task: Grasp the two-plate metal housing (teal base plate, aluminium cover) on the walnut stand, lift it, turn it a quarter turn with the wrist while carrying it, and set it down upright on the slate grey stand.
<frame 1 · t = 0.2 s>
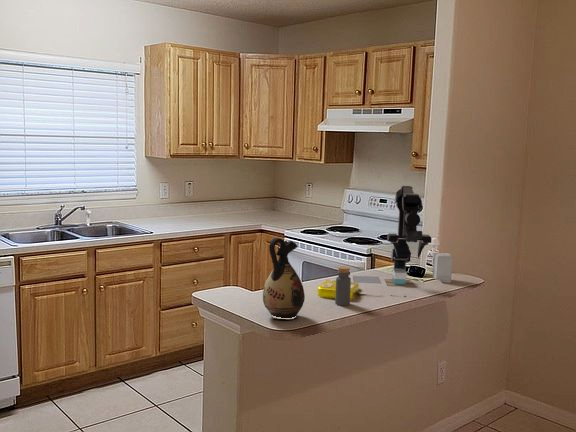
hand: (407, 257, 262), 14 cm above the countertop, tool pointing down, fingers open, 9 cm apart
bottle: (342, 304, 237), on the countertop
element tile: (338, 295, 251), on the countertop
supplement box: (441, 281, 279), on the countertop
ceramic jug: (281, 317, 218), on the countertop
walnut stand: (398, 286, 266), on the countertop
slate stand: (366, 282, 271), on the countertop
housing: (398, 282, 266), point 1 cm above the countertop, touching walnut stand
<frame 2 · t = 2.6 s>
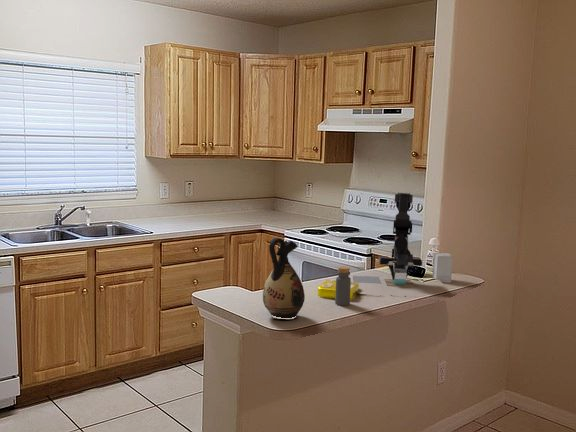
hand: (399, 279, 266), 3 cm above the countertop, tool pointing down, fingers closed on housing, 5 cm apart
housing: (398, 282, 266), point 2 cm above the countertop, touching gripper, walnut stand
everything else where it was.
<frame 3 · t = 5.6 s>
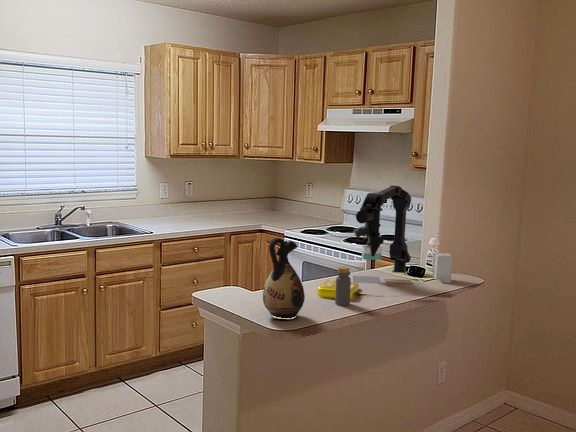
hand: (371, 255, 268), 13 cm above the countertop, tool pointing down, fingers closed on housing, 5 cm apart
housing: (371, 258, 269), point 12 cm above the countertop, touching gripper
everything else where it was.
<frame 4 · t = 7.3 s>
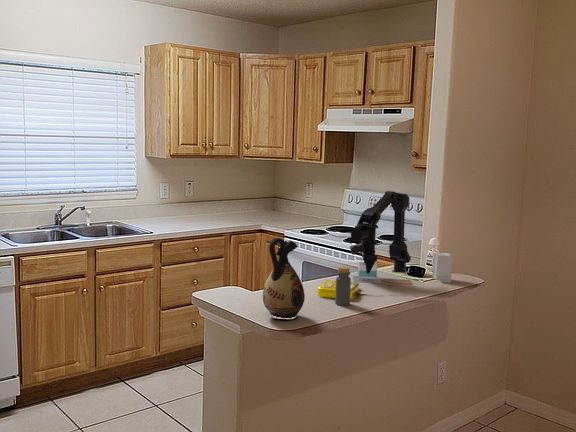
hand: (367, 272, 270), 5 cm above the countertop, tool pointing down, fingers closed on housing, 5 cm apart
housing: (367, 275, 270), point 3 cm above the countertop, touching gripper
everything else where it was.
when the fingers open (4 cm above the countertop, at t = 8.6 s): housing stays where it is, resting on slate stand.
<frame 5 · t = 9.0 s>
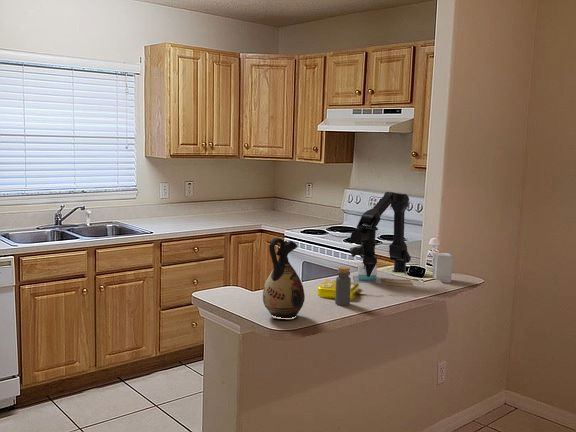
hand: (367, 274, 270), 4 cm above the countertop, tool pointing down, fingers open, 9 cm apart
housing: (366, 279, 271), point 1 cm above the countertop, touching slate stand
everything else where it was.
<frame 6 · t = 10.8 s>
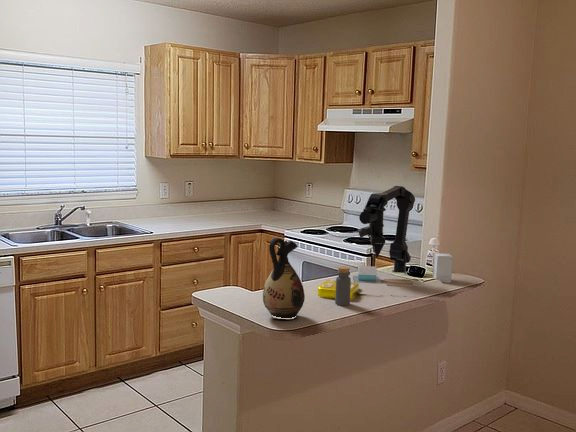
hand: (375, 254, 272), 13 cm above the countertop, tool pointing down, fingers open, 9 cm apart
nothing on the countertop moved.
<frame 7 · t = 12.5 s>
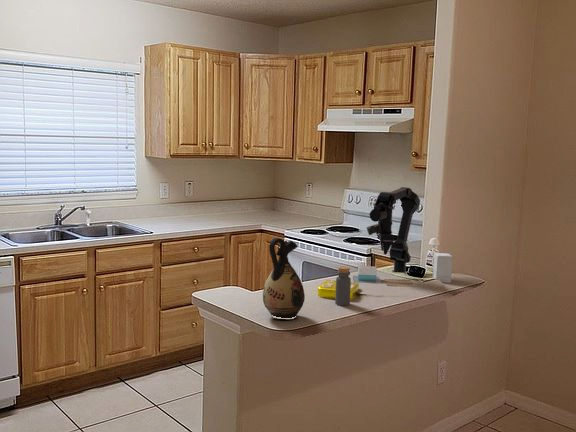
hand: (383, 252, 276), 13 cm above the countertop, tool pointing down, fingers open, 9 cm apart
nothing on the countertop moved.
at the end: housing inside the target area on the slate stand (0.0 cm from its centre), point 1.5 cm above the slate stand's base; housing tilted 0°; the gripper is holding nothing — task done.
